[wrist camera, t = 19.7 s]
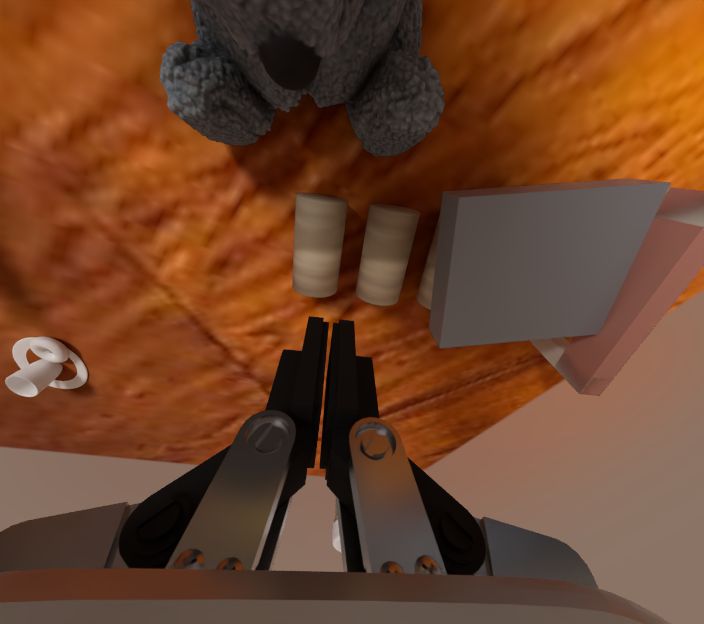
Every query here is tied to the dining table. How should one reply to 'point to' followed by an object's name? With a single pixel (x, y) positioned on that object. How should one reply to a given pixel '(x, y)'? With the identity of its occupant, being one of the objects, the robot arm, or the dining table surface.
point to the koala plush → (305, 69)
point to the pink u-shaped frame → (637, 296)
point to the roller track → (377, 255)
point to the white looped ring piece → (43, 367)
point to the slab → (536, 258)
